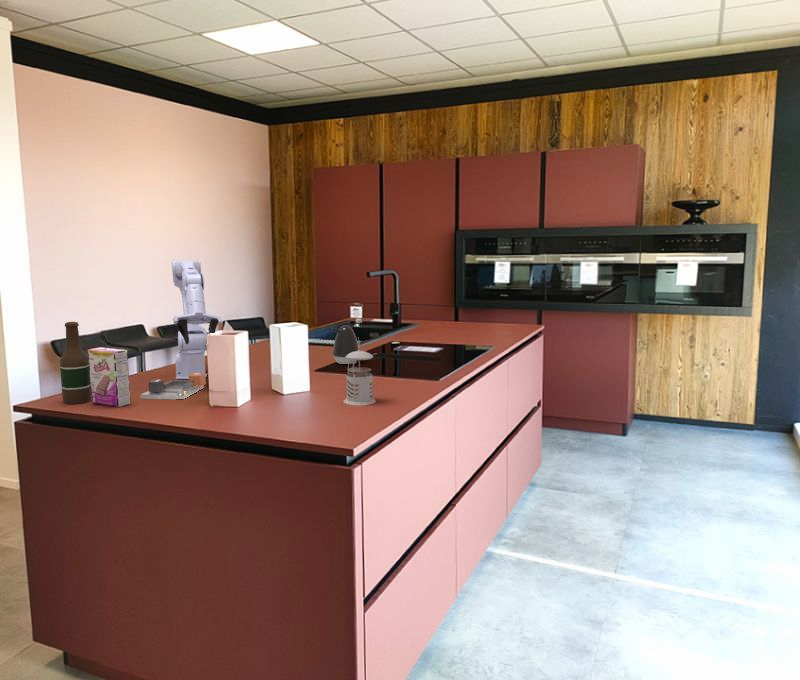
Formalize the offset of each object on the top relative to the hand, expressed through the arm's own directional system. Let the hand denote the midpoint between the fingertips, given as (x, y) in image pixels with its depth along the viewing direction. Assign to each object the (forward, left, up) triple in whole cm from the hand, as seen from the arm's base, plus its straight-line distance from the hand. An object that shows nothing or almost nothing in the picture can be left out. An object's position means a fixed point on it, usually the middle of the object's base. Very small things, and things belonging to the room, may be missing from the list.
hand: (200, 342), depth 205 cm
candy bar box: (-20, -18, -16) cm, 31 cm away
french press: (+52, -6, -16) cm, 54 cm away
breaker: (-12, -6, -15) cm, 20 cm away
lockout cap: (-5, +9, -16) cm, 19 cm away
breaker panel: (-8, -3, -16) cm, 18 cm away
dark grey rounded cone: (+36, +54, -16) cm, 67 cm away
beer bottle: (-32, -16, -16) cm, 40 cm away
